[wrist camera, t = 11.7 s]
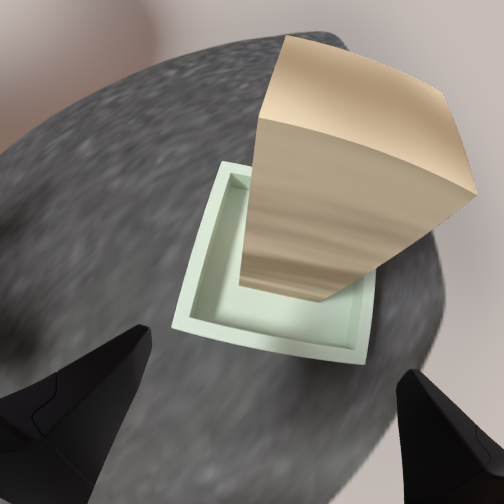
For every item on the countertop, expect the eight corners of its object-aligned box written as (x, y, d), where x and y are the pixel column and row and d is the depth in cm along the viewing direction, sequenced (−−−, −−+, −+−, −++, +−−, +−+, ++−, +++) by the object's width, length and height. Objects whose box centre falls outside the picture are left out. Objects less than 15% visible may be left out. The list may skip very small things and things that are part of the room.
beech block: (318, 302, 17) (477, 195, 4) (238, 285, 17) (258, 117, 4) (326, 243, 18) (441, 92, 6) (252, 226, 18) (286, 35, 6)
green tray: (351, 363, 16) (365, 364, 14) (178, 330, 16) (171, 327, 14) (365, 212, 20) (377, 199, 18) (222, 177, 20) (221, 161, 18)
